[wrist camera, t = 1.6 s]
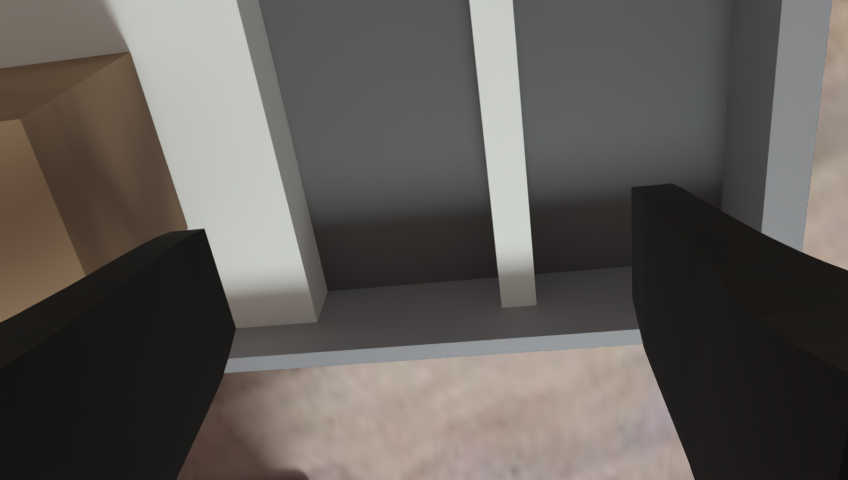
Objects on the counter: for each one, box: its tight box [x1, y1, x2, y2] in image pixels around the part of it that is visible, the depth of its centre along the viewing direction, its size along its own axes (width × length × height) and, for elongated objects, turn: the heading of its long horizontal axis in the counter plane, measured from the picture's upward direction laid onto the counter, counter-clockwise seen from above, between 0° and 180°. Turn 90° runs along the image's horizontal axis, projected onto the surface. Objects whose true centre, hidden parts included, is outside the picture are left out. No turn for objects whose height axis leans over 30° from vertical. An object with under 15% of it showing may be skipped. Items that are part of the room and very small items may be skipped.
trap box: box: [0, 0, 832, 373], centre depth 20 cm, size 13×34×4 cm, turn 98°
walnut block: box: [0, 52, 188, 322], centre depth 18 cm, size 5×5×5 cm
